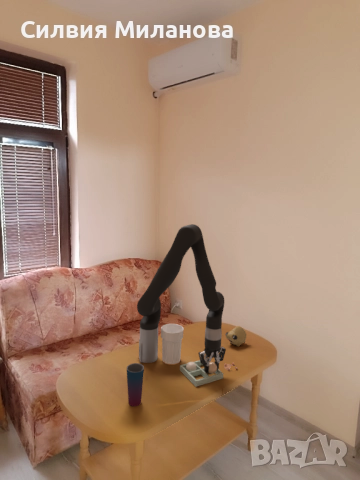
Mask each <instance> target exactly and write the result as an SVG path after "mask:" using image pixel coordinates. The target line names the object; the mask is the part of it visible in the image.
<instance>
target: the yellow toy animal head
mask: <svg viewBox="0 0 360 480" xmlns="http://www.w3.org/2000/svg"><path fill="white" fill-rule="evenodd" d="M224 334H225V335H224V336H225V338H226V339H227V340H228V341H229V342H230V344H232V345H233V346H237V347H240V346H241V345H242V344H244V343H245V342H246V340H247V332H246V330H245V329H244V327H243V326H241V325H237V326H235V327H234V328H232V329H231V330H229V331H227V332H225V333H224Z"/></svg>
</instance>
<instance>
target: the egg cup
mask: <svg viewBox="0 0 360 480" xmlns="http://www.w3.org/2000/svg"><path fill="white" fill-rule="evenodd" d="M231 366H236V365H235V362H232V363H224V365H223V368H224V369H225V370H226V371H229V372H231V371H230V368H231ZM235 369H237V370H238V366H237V367H235Z"/></svg>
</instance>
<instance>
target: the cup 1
mask: <svg viewBox="0 0 360 480" xmlns="http://www.w3.org/2000/svg"><path fill="white" fill-rule="evenodd" d="M144 371H145V366H144V365H143V364H142V363H137V362H135V363H130V364H128V365H127V366H126V380H127V382H126V383H127V385H126V386H127V400H128V401H127V402H128V405H129V406H131V407H137V406H140V405H141V404H142V398H143V397H142V396H143V395H142V394H143V385H144V383H143V382H144Z"/></svg>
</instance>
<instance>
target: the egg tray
mask: <svg viewBox="0 0 360 480" xmlns="http://www.w3.org/2000/svg"><path fill="white" fill-rule="evenodd" d="M193 362H194V363H195V364H196V366H197V369H196V370H195V371H192V372H188V371H187V370H186V365H187V363H184V364H180V365H179V371H180V372H181V373H182V374H183V375H184V377H186V378H187V380H189V381H190V382H191V384H192V385H194V386H195V387H200V386H202V385H206V384H209V383H213V382H215V381H218V380H223V379H224V373H223V371H221V370H220V368H219V369H218V371H216V372H215V373H214V374H213V375H209V373H206V372H205V371H204V367H203V368H201V366H203V365H202V364H201V363H200V359H198V360H196V361H193ZM200 375H201V377H202V378H199V379H196V377H198V376H200Z"/></svg>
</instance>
